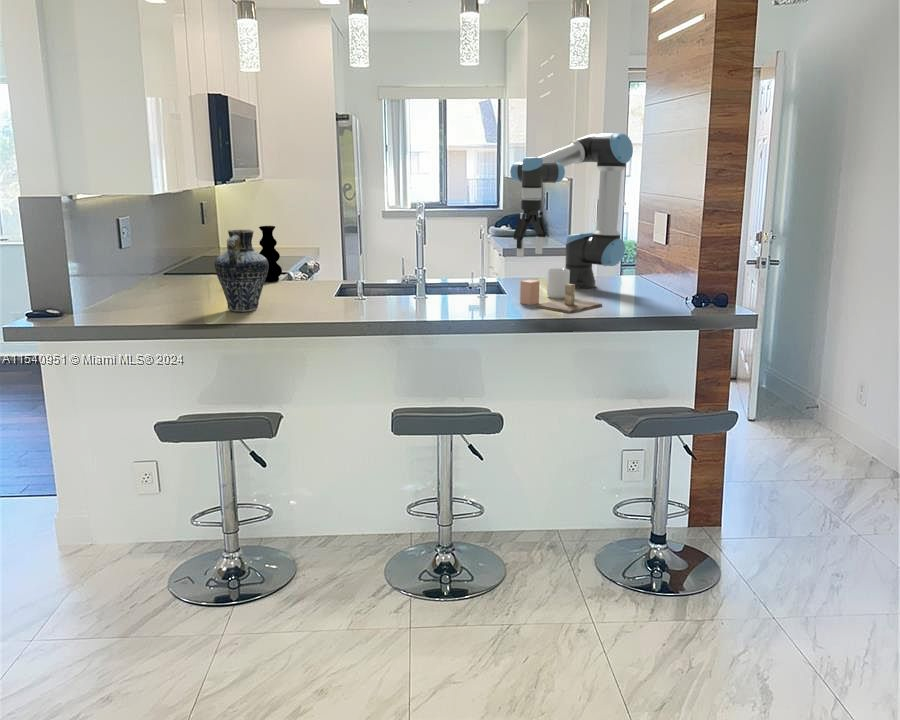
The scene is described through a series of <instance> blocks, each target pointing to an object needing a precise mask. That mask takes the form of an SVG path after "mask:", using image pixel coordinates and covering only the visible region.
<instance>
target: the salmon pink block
mask: <svg viewBox="0 0 900 720" xmlns="http://www.w3.org/2000/svg"><path fill="white" fill-rule="evenodd" d="M519 287H520V291H519V293H520V294H519V295H520V297H519V303H520V304H521V303H522V305H526V304H527V305H528V306H533V305H537V304H540V281H539V280H536V279H535V280H533V279H525V280H520V286H519Z"/></svg>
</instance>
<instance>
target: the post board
mask: <svg viewBox="0 0 900 720" xmlns="http://www.w3.org/2000/svg"><path fill="white" fill-rule="evenodd" d="M575 290H576V288H575V284H565V298H563V299H557V300H554V301H553V300H552V301H547V302H543V303H538V304H535V305H536V306H535V307H536V308H539V309H543V308H544V309H545V310H549V311H550V310H551V311H555V312H559V313H560V312H561V313H565V314H574V313H578V312H581V311H586V310H591V309H595V308H599V307H600V308H601V307H603V303H601V302H595V301H589V300H583V299H579V298H577V299H576V298H575V295H576V294H575V293H576V291H575Z"/></svg>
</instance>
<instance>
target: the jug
mask: <svg viewBox="0 0 900 720" xmlns="http://www.w3.org/2000/svg"><path fill="white" fill-rule="evenodd" d="M227 232H228V238H227V240H226V247H227V251H224V252H223V253H222V254H220V255H218V256H217V257H216V259H215V260H214V264H213V265H214V270H215V273H216V276H217V279H218V281H219V284H220V286H221V288H222V290H223V291H222V292H223V293H224V297H225V300H226V302H227V303H226V304H227V309H228V310H229V311H233V312H239V313H241V312H242V313H243V312H248V313H249V312H252V311H256V310H257V309H258V306H259V301H260V298H261V295H262V291H263V289H264V285H265V282H266V281H265V280H266V277H267V274H268V268H269V264H268V260H267V259H266V258H265V257H264V256H263V255H261V254H259V253H260V252H257V251H255V249H254V247H253V244H252V243H253V242H252V240H253V236H254V230H253V229H228V230H227Z"/></svg>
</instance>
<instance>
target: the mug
mask: <svg viewBox="0 0 900 720" xmlns="http://www.w3.org/2000/svg"><path fill="white" fill-rule="evenodd" d="M569 281H570V270H568V269H565V268H559V267H558V268H557V267H556V268H549V269H547V281H546V282H547V284H546V286H547V287H546V288H547V289H546V290H547V291H546V292H547V293H546V295H547V296H548V297H549V298H551V299H555V300H556V299H557V300H562V298H563V299H565V284H569Z"/></svg>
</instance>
